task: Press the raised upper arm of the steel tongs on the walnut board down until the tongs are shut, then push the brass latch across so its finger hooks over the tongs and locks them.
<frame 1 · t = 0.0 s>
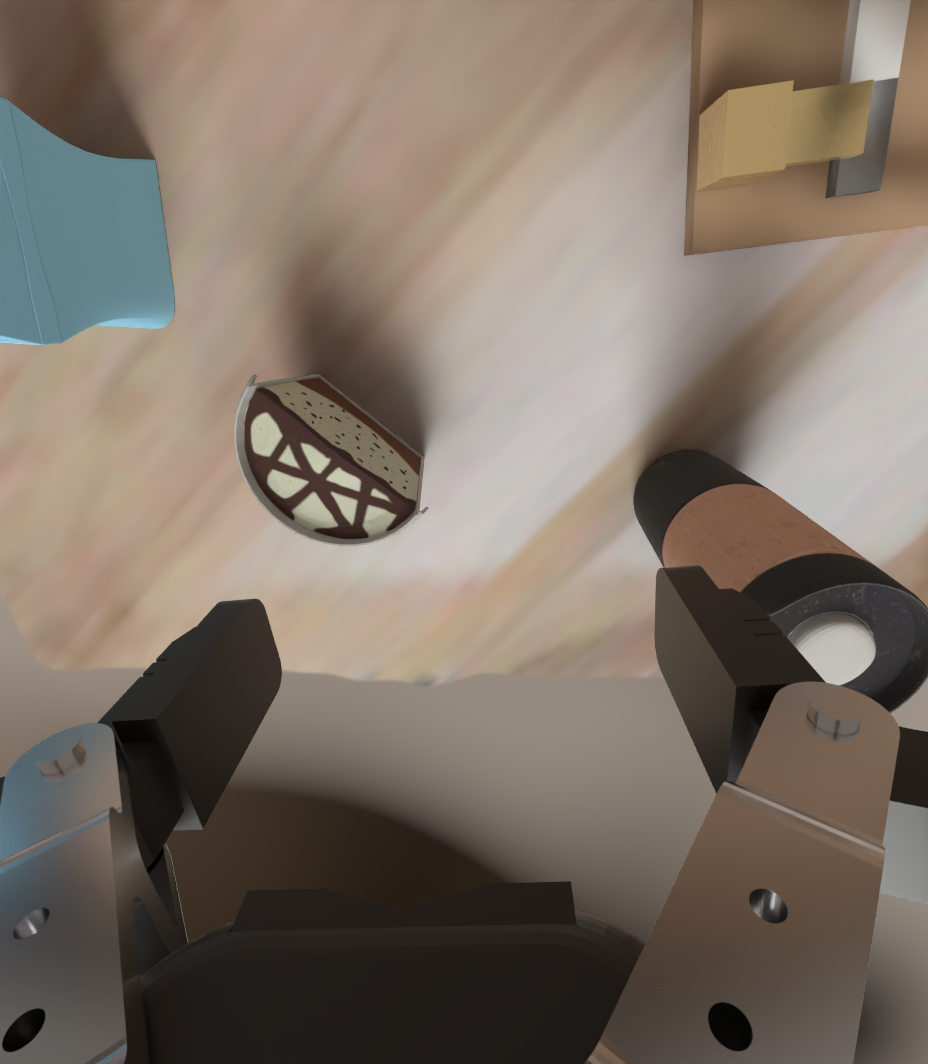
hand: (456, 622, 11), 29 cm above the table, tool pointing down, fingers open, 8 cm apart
light blue flared block: (95, 245, 36), on the table
travel mug: (681, 495, 40), on the table
brass latch: (780, 135, 29), point 4 cm above the table, slide at 0.0 cm
food container: (349, 448, 40), on the table
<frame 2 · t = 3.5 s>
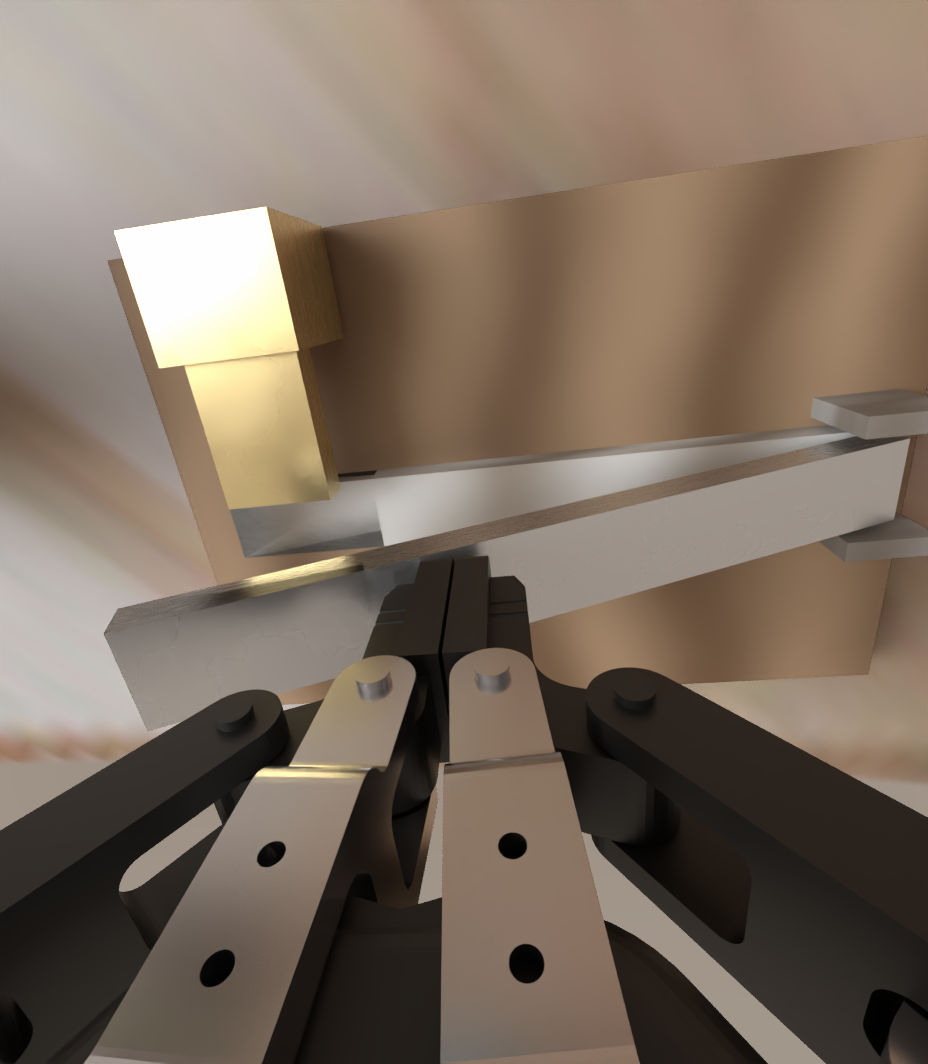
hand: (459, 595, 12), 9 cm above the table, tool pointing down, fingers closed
tong board: (526, 476, 20), on the table
tongs upper arm: (571, 556, 14), point 7 cm above the table, hinge at 21.2°, touching gripper
brass latch: (266, 370, 15), point 4 cm above the table, slide at 0.0 cm
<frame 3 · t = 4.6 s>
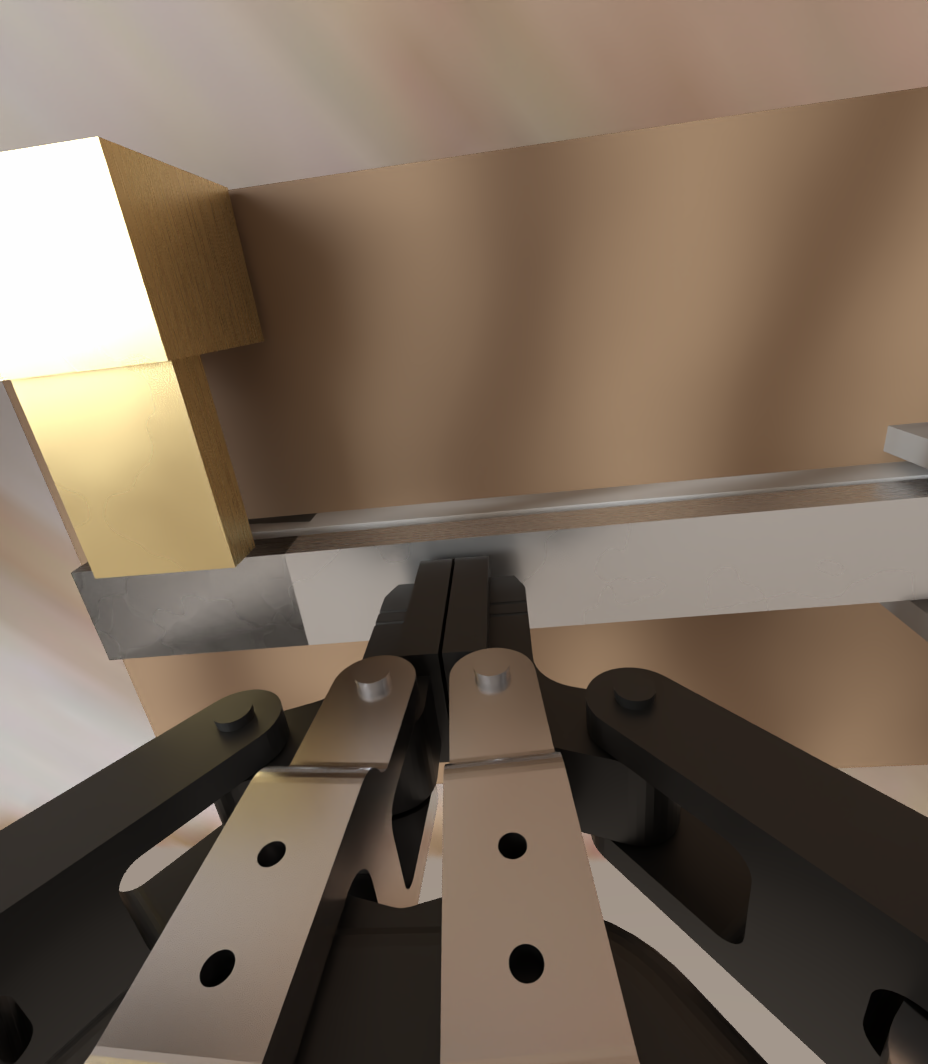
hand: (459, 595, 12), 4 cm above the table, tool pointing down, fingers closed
tong board: (511, 517, 16), on the table
tongs upper arm: (515, 572, 13), point 3 cm above the table, hinge at 1.0°
brass latch: (146, 385, 11), point 4 cm above the table, slide at 0.0 cm
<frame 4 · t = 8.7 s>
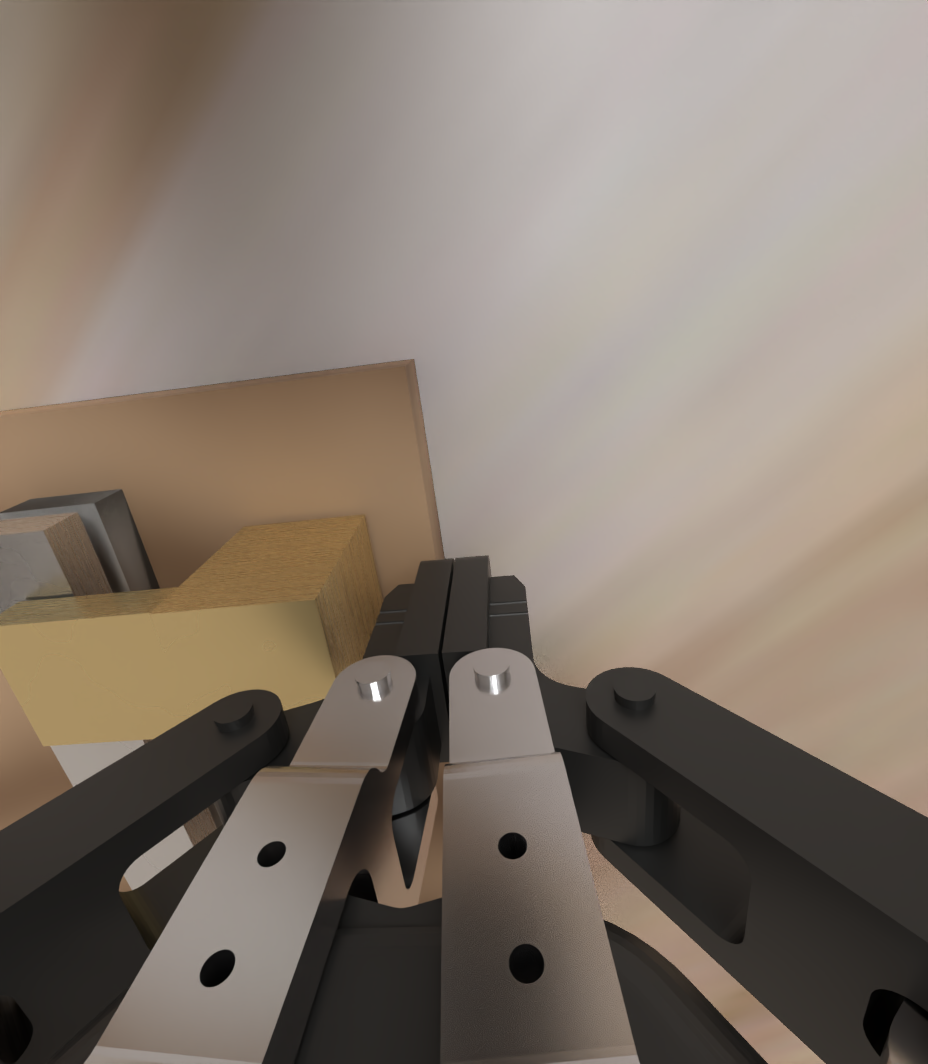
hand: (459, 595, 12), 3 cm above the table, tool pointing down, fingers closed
tong board: (223, 757, 19), on the table
tongs upper arm: (170, 849, 15), point 3 cm above the table, hinge at 1.0°
brass latch: (207, 637, 12), point 4 cm above the table, slide at 1.5 cm, touching gripper
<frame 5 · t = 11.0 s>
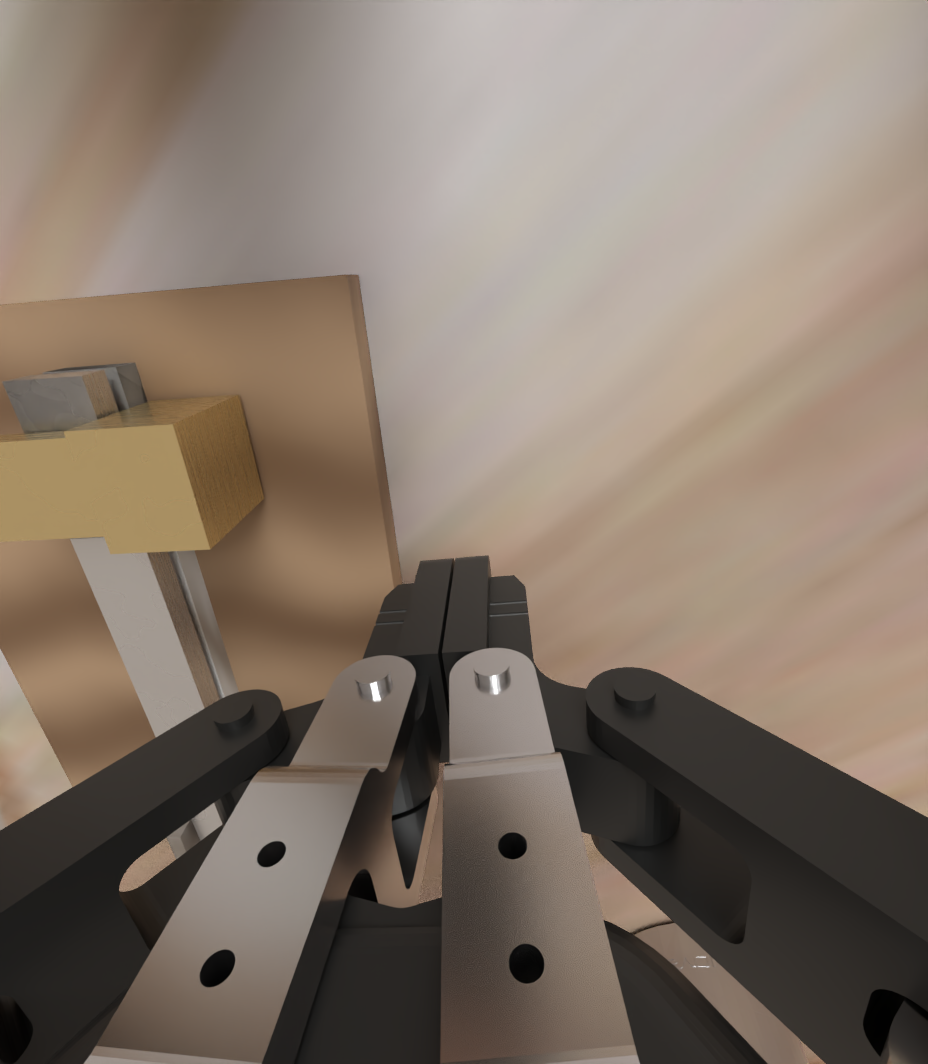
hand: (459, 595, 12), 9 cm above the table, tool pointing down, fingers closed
tong board: (206, 603, 23), on the table
tongs upper arm: (162, 652, 20), point 3 cm above the table, hinge at 1.0°
brass latch: (116, 473, 17), point 4 cm above the table, slide at 4.1 cm
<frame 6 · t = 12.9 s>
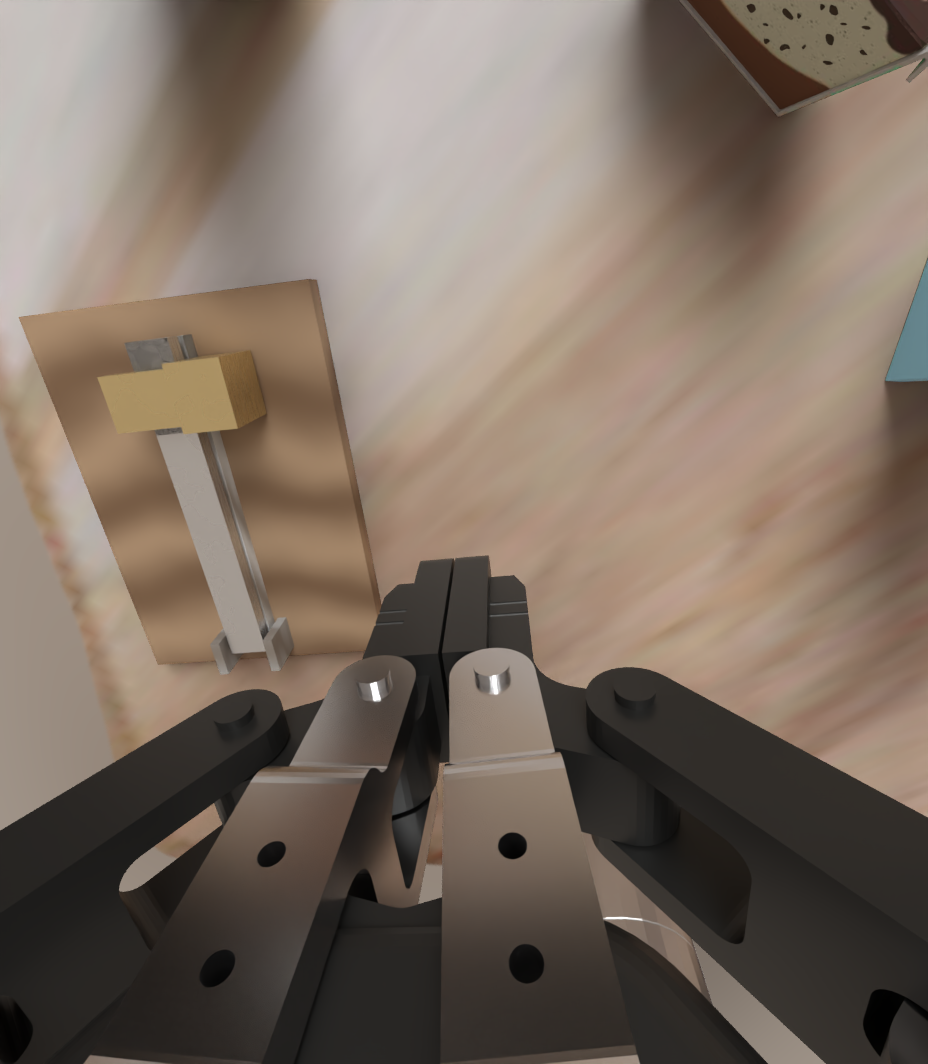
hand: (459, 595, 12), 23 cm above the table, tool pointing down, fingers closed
tong board: (231, 493, 36), on the table
tongs upper arm: (207, 512, 33), point 3 cm above the table, hinge at 1.0°
brass latch: (183, 394, 30), point 4 cm above the table, slide at 4.1 cm
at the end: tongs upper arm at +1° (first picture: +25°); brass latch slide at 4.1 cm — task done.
